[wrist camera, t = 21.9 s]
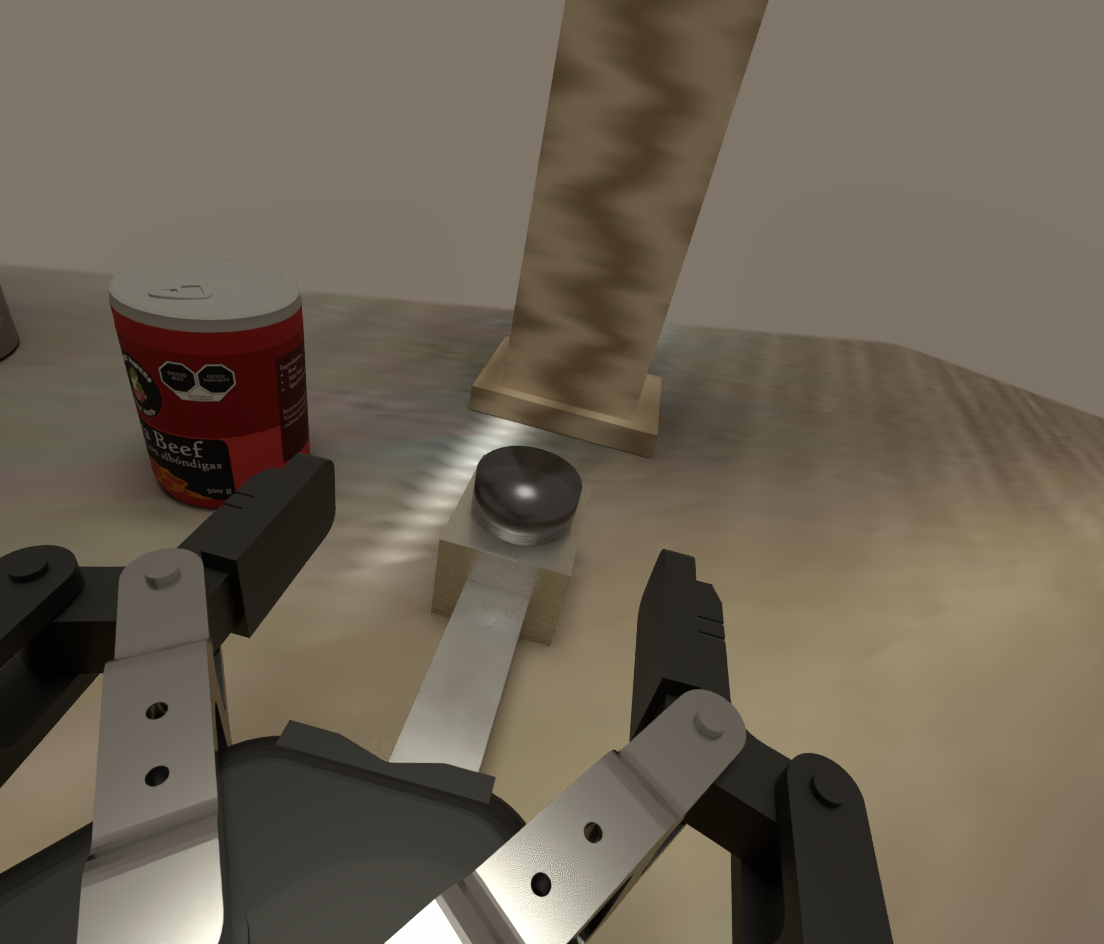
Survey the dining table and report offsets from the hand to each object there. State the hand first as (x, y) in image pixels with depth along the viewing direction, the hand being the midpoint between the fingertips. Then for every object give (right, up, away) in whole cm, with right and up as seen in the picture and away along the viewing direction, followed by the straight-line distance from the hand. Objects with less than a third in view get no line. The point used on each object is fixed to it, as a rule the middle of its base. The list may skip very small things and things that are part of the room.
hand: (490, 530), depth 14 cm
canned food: (-17, +1, +20) cm, 26 cm away
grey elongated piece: (-2, -7, +13) cm, 15 cm away
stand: (+3, +7, +34) cm, 35 cm away
